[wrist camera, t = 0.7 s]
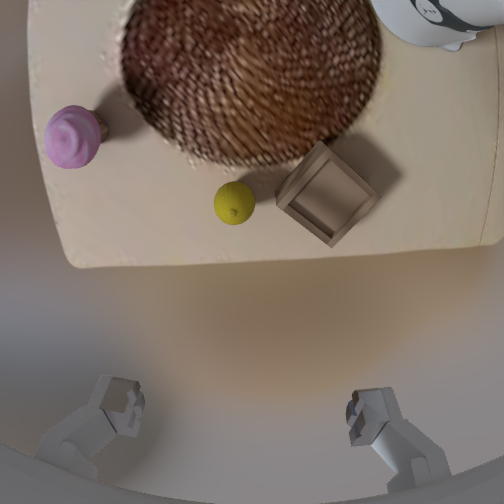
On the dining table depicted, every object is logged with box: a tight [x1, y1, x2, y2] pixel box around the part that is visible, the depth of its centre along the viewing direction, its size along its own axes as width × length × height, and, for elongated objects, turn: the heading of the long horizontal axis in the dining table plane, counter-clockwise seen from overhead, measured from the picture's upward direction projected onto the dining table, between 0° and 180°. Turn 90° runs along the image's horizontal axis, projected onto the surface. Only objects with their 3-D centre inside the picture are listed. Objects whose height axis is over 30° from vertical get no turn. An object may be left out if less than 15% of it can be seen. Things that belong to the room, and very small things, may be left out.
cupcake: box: [44, 105, 109, 169], centre depth 37 cm, size 9×9×10 cm
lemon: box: [214, 181, 255, 225], centre depth 42 cm, size 6×6×8 cm
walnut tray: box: [275, 140, 381, 248], centre depth 42 cm, size 10×10×6 cm
